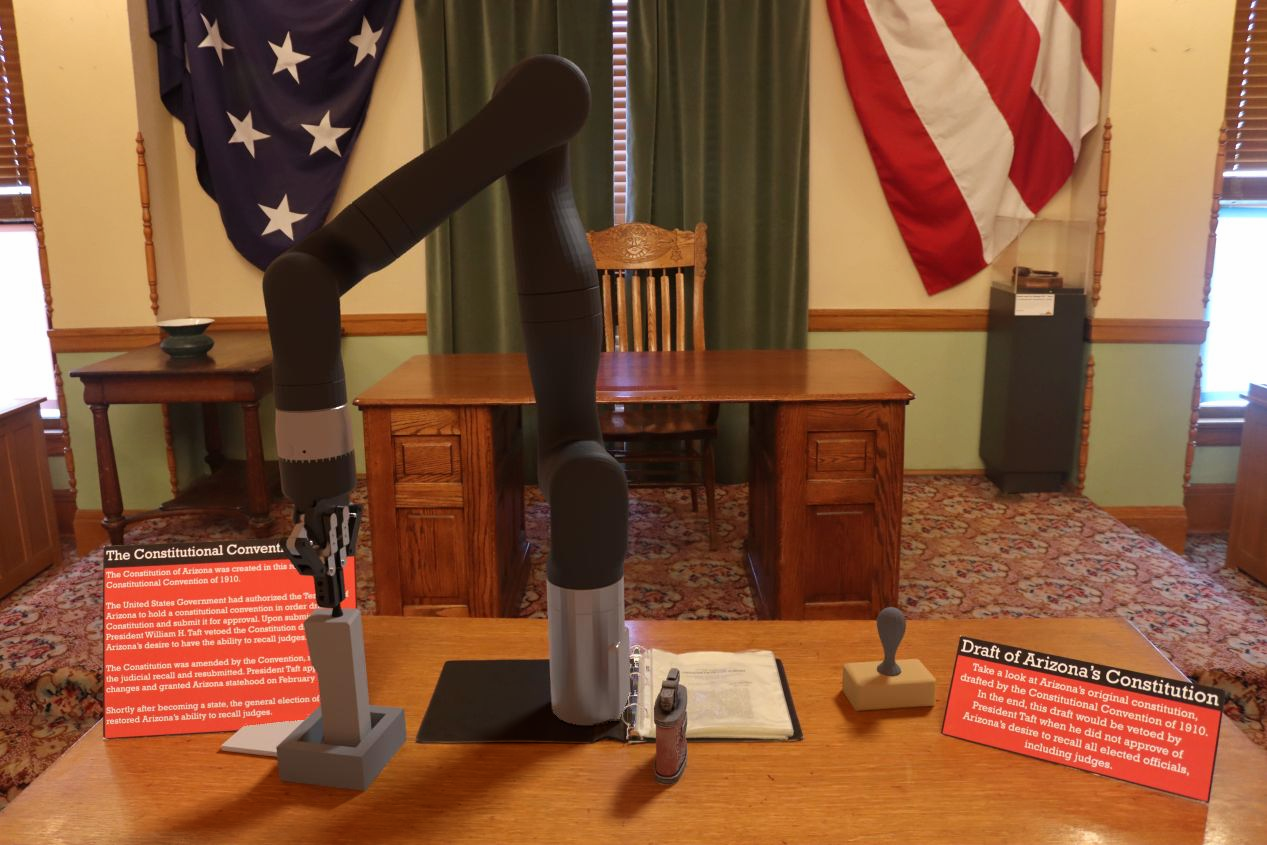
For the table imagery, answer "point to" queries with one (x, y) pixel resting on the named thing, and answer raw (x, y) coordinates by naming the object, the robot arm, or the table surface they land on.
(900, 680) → the rubber stamp
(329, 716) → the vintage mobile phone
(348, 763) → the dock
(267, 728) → the tile
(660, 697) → the lighter
